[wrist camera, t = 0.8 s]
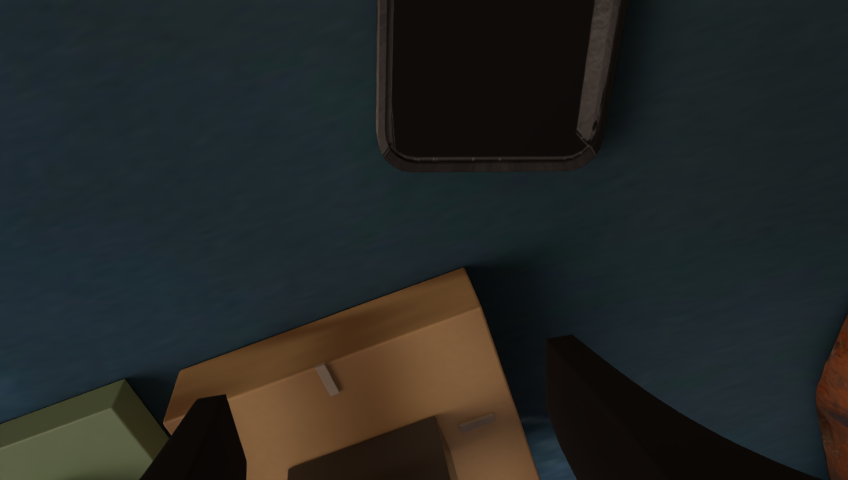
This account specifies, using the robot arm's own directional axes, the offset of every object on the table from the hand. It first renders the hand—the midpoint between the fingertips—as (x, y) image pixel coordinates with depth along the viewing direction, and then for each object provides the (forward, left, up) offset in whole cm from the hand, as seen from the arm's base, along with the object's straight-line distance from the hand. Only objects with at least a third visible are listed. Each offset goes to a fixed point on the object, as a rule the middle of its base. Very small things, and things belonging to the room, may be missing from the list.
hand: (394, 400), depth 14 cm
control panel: (-8, +3, -10) cm, 13 cm away
